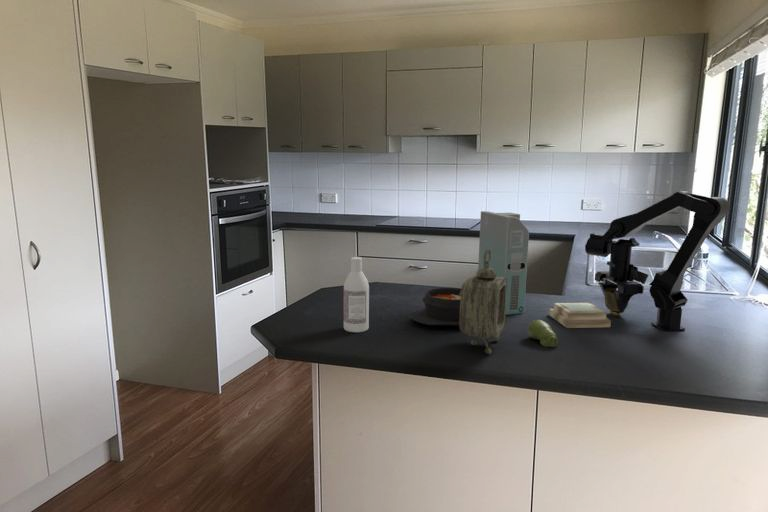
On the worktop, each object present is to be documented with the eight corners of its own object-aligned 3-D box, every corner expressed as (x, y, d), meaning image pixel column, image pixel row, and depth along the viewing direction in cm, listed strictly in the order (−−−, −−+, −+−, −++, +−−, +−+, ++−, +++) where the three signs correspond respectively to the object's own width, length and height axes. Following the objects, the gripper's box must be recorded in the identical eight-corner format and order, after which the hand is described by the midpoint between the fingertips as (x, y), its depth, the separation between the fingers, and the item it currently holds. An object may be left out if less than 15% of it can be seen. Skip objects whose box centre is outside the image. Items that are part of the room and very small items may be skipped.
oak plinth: (610, 327, 163) (611, 312, 162) (566, 327, 161) (567, 313, 160) (589, 314, 175) (590, 301, 175) (548, 314, 174) (549, 301, 173)
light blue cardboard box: (524, 313, 176) (530, 216, 170) (502, 315, 173) (507, 216, 168) (496, 300, 191) (501, 210, 185) (476, 301, 188) (480, 211, 183)
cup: (600, 316, 173) (602, 290, 172) (603, 310, 180) (605, 286, 178) (627, 320, 170) (629, 294, 168) (629, 314, 176) (631, 289, 175)
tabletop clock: (493, 358, 137) (499, 255, 132) (457, 352, 140) (461, 252, 136) (504, 340, 150) (509, 246, 146) (470, 335, 153) (474, 243, 149)
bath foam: (350, 324, 162) (351, 254, 158) (372, 327, 159) (373, 257, 156) (339, 330, 156) (339, 258, 152) (361, 334, 153) (362, 261, 149)
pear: (543, 315, 153) (565, 332, 144) (540, 333, 155) (561, 351, 146) (525, 317, 152) (546, 334, 143) (522, 335, 153) (542, 353, 144)
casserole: (466, 308, 180) (467, 282, 179) (505, 324, 164) (506, 296, 162) (397, 318, 169) (398, 290, 167) (431, 336, 152) (432, 306, 151)
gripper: (663, 265, 163) (658, 317, 166) (629, 253, 182) (624, 301, 184) (626, 265, 162) (621, 318, 165) (595, 254, 180) (591, 301, 183)
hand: (615, 309), depth 174 cm, fingers closed on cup, 6 cm apart
